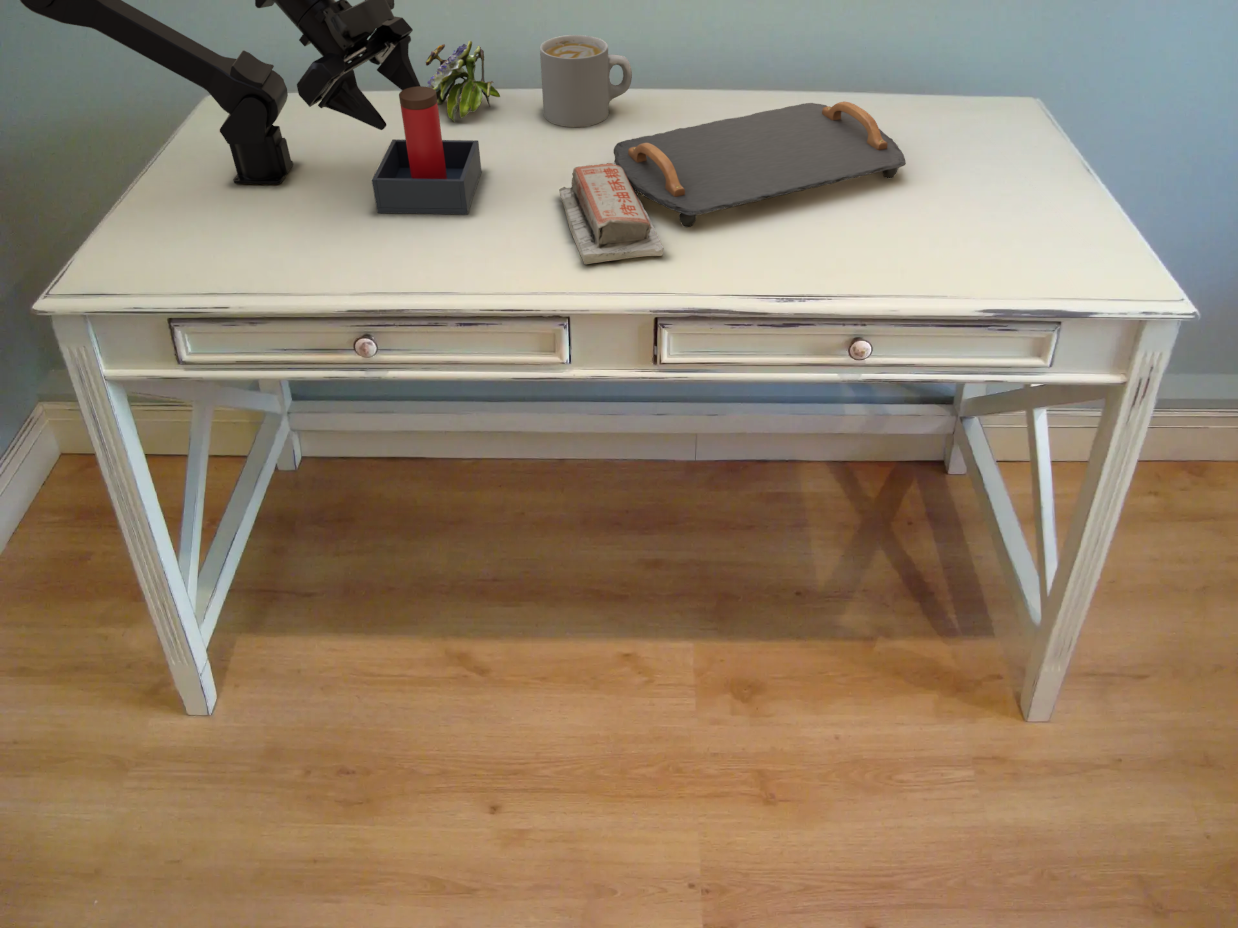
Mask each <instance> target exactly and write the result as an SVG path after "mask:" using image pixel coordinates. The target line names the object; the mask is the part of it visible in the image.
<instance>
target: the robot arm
mask: <svg viewBox="0 0 1238 928" xmlns="http://www.w3.org/2000/svg"><path fill="white" fill-rule="evenodd" d="M19 2H20V3H21V4H22V5H23V6H24V7H25V8H27V9H28V10H29V11H30V12H32V13H35V14H37V15H40V16H41V17H44V18H48V19H49V20H53V21H56V22H58V23H61V24H64V25H72V26H77V27H83V28H89V29H92V30H95V31H97V32H98V33H101V34H102V35H104V36H106V37H108V38H110V39H111V40H113V41H116V42H117V43H119V44H121V45H123V46H124V47H127V48H128V49H130V50H131V51H134V52H136V54H137V53H138V54H139V55H141V56H143V57H145V58H146V59H149V60H150V61H152V62H154V63H156V64H158V65H160V66H161V67H164V68H165V69H167V70H168V71H170V72H172V73H174V74H176V75H178V76H180V77H182V78H184V79H186V80H187V81H189V82H191V83H193V84H194V85H197V86H198V87H200V88H201V89H204V90H205V91H206V92H208V94H209V95H210V96H211V98H212V99H213V100H214V101H215V102H216V103H217V104H218V105H219V107H220V108H221V109H222V110H223V111H224V112H226V113H227V114H228V115H227V117H226V118H225V120H224V122H223V123H222V125H221V126H220V127H219V133H220V135H221V136H222V137H223V139H224V140H225V142H226V143H227V144H228V146H229V149H230V153H231V156H232V161H233V164H234V167H235V171H236V175H235V176H234V178H233V179H232V181H233V184H236V185H237V184H238V185H280V184H282V183H283V181H284V179H286V176H287V175H288V173H290V171H291V170H292V167H293V165H294V161H293V160H292V159H291V154H290V150H289V146H288V142H287V139H286V137H283V135H282V131H281V127H280V125H274V124H275V122H276V121H277V119H278V117H279V116H280V114H281V112H282V110H283V108H284V107H285V105H286V104H287V100H288V98H289V97H288V95H289V94H288V93H289V92H288V87H287V85H286V83H285V79H284V78H283V77H282V76H281V74H279V73H278V72H277V71H275V70H273V69H274V67H275V65H274V64H272V63H271V64H270V63H267V62H264V61H261V60H260V59H258V58H257V57H256V56H254V55H253V54H252V53H251V52H248V51H247V50H242V51H241V52H240V54H239V55H238V57H237V58H234V57H228V56H223V55H221V54H219V53H217V52H215V51H213V50H211V49H210V48H208V47H206V46H205V45H203V44H201V43H199V42H197V41H195V40H193V39H192V38H190V37H188V36H186V35H184V34H183V33H181V32H179V31H177V30H176V29H174V28H172V27H170V26H168V25H167V24H165V23H163V22H161V21H160V20H157V19H156V18H154V17H153V16H150V15H149V14H147V13H145V12H143V11H142V10H140V9H138V8H136V7H135V6H133V5H131V4H129V3H127V2H125V1H124V0H19ZM274 4H276V6H277V7H278V8H279V9H280V10H281V11H282V13H284V15H285V16H286V17H287V18H288V19H289V21H291V23H293V25H294V26H295V27H296V28H297V29H298V30H299V32H300V33H301V36H300V38H299V39H298V41H299V42H300V43H301V44H302V45H303V47H307V46H309V45H312V46H313V47H314V48H315V50H316V51H317V52H318V53H319V54H320V55H321V57H320V58H318V59H315V60H314V61H313V62H312V63H310V65H309V67H308V68H307V69H306V70H305V72H304V73H303V75H302V76H301V77H300V78H299V80H298V81H297V83H296V89H297V94H298V96H299V97H300V98H301V100H303V102H305V104H306V105H307V106H308V107H309V108H310V107H312V106H314V105H316V104H317V103H318V104H317V107H318V108H320V109H324V108H326V109H330V110H332V111H334V112H338V113H340V114H343V115H345V116H348V117H350V118H353V119H355V120H357V121H359V122H362V123H363V124H366V125H369V126H371V127H373V128H375V129H377V130H380V131H384V129H386V127H387V122H386V121H385V120H384V118H383V117H382V115H381V114H380V112H379V111H378V110H377V109H376V108H375V106H374V105H373V103H372V102H371V101H370V100H369V99H368V98H367V96H366V95H365V94H364V93H363V91H362V90H361V89H360V87H359V86H358V82H357V78H356V74H355V69H356V68H358V67H361V65H363V64H365V63H366V62H368V61H369V62H370V63H371V64H374V65H377V68H376V71H377V73H379V74H381V76H383V77H384V78H386V79H387V80H388V81H389V82H390V83H392V84H393V85H394V86H396V87H397V88H398V89H400V90H401V91H402V90H404V89H407V88H411V87H418V86H421V83H420V81H419V78H418V77H417V74H416V72H415V70H414V67H413V65H412V62H411V59H410V55H409V49H410V48H409V47H410V46H409V44H410V43H411V42H412V37H411V34H412V33H413V28H412V27H411V26H410V25H409V23H408V22H407V21H406V19H405V18H404V17H402V16H401V17H400V16H395V15H394V13H393V11H392V10H393V9H394V8H395V0H363V1H361V2H359V3H357V4H355V5H352V4H351V3H350V2H349V1H348V0H254V5H255V8H257V9H264V8H269V7H272V6H274Z"/></svg>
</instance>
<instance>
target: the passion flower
mask: <svg viewBox="0 0 1238 928" xmlns="http://www.w3.org/2000/svg"><path fill="white" fill-rule="evenodd" d="M472 46H473V40H468V42H467V44H466V43H463V44H462V45H459V46H458V47H457V49H456V50H453V52H452V54H451V55H449V56H448V58H447V59H442V58H441V57H440V53H441V52H442V51H443V50H444V49H445V47H446V44H445V43H443V44H441V45H438V46H437V48H435V49H434V50H431V52H430V55H428V57H427V59H426V61H425V66H426V67H428V66H430V65H431V64H432V63H433V62H434V60H437V61H438V62H439V67H438V68H436V72H435V73H434V74H433V75H432V76H431V77H430V78H429V79H428V80H427V84H428V87H430V88H432V89H434V90H435V91H436V95H437V103H438V104H439V105H442V104H443V103H445V102H446V109H447V110H446V112H447V115H448V116H447V117H448V118H449V119H451V120H452V122H453V123H456V114H457V110H459V111H458V112H459V118H461V119H464V118H465V117H466V116H467V115H468V114H469V113H470V112H471V113H474V112H476V110H478V109H479V107H480V106H481V104H482V101H483V97H485V100H486V103H487V105H488V108H491V103H490V97H496V98H500V97H501V94H500V92H499V91H498V90H497V88H495V87H494V86H493V85H492V84H494V81H493V80H491V81H485V50H483V48H482V46H481V45H477V47H476V49H475V50H474V51H473V52H474V53H473V54H470V52H471V50H472ZM479 59H480V60H481V64H480V65H481V79H480V80H476V78H475V73H476V68H477V67H476V66H477V65H476V63H477V62H478V60H479ZM464 67H465V68H466V70H465V69H464ZM458 79H462V80H463V81H462V82H458V83H456V81H457V80H458ZM458 108H459V109H458Z"/></svg>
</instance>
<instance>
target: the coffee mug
mask: <svg viewBox="0 0 1238 928" xmlns="http://www.w3.org/2000/svg"><path fill="white" fill-rule="evenodd" d="M539 56H540V74H541V91H542V94H541V95H542V109H543V110H542V111H543V117H544V119H545V120H546V121H548V122H549V123H551V124H553V125H556V126H560V127H565V128H566V127H567V128H582V127H589V126H590V127H591V126H594V125H597V124H600V123H603V122H604V121H605V120H607V118H609V116H610V108H609V107H610V103H611V101H612V100H614V99H616V98H618V97H620V96H622V95H624V94H625V93H626V92H628V90H629V89H630V88H631V84H632V80H633V71H632V70H633V69H632V67H631V63H630V61H629V59H628V58H627V57H625V56H624V55H621V54H609V45H608V43H607V42H606V41H605V40H603V39H602V38H600V37H596V36H592V35H585V34H567V35H565V34H564V35H560V36H555V37H551V38H549V39H546V40H545V41H543V42H542V43H541V44H540V46H539ZM614 66H619V67H620V68H621V71H622V80H621V82H620V83H619V84H612V82H611V78H610V74H611V70H612V68H613V67H614Z"/></svg>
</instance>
